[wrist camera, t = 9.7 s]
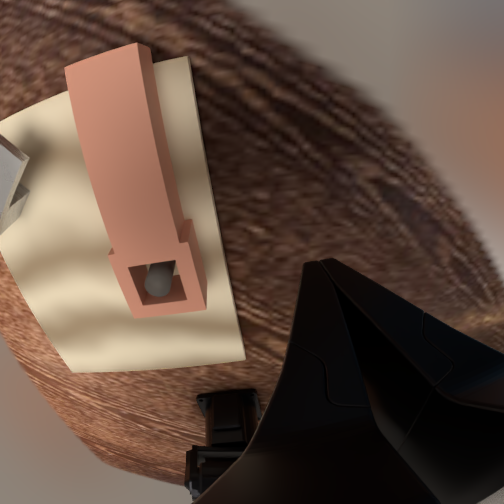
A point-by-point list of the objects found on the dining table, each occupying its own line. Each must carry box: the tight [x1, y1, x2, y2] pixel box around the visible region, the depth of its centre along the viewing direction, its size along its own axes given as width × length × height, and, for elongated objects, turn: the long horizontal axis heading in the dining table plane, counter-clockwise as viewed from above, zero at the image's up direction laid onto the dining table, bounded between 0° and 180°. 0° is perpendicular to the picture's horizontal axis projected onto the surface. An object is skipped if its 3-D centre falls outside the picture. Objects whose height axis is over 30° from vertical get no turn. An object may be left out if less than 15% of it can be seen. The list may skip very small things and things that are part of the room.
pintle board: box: [0, 56, 246, 372], centre depth 20 cm, size 24×18×4 cm
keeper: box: [0, 134, 30, 235], centre depth 15 cm, size 3×7×4 cm, turn 137°
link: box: [64, 43, 208, 319], centre depth 17 cm, size 16×5×3 cm, turn 7°
